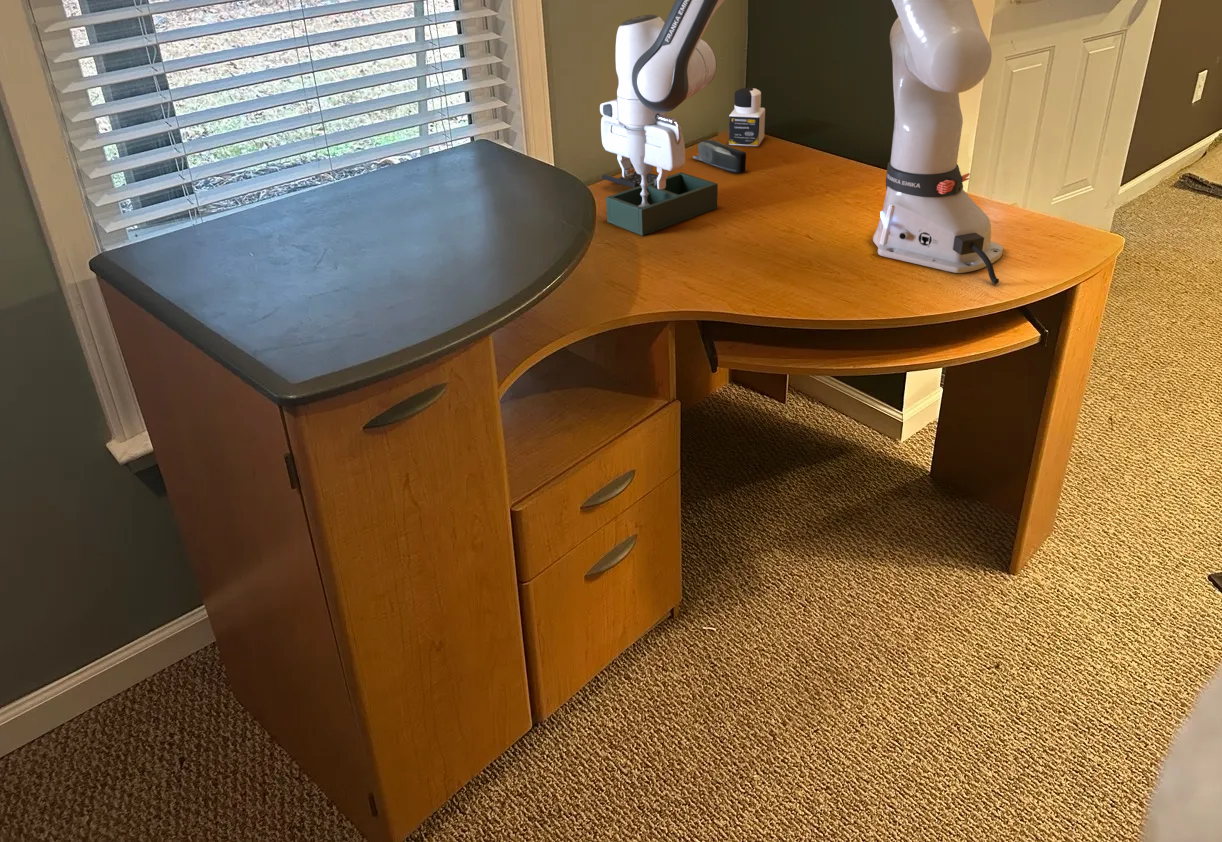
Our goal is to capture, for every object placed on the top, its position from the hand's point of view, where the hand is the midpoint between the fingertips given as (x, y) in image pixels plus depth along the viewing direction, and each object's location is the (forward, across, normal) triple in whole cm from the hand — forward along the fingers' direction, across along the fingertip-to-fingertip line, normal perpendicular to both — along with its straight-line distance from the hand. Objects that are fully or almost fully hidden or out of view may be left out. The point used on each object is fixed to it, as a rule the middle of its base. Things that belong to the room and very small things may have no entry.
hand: (643, 182), depth 188 cm
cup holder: (+8, 0, -5) cm, 9 cm away
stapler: (+8, +13, -34) cm, 37 cm away
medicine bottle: (+8, +21, -51) cm, 55 cm away
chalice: (+7, 0, 0) cm, 7 cm away
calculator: (+8, +17, -13) cm, 23 cm away
